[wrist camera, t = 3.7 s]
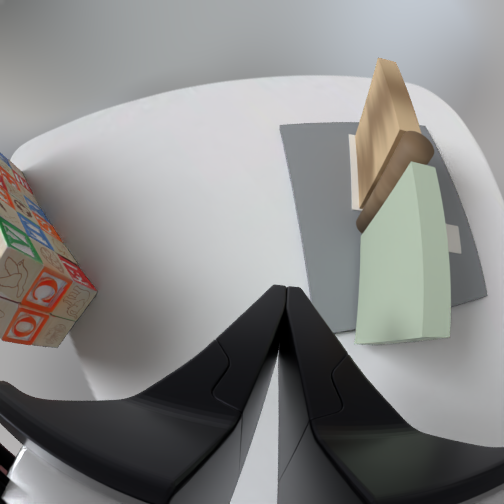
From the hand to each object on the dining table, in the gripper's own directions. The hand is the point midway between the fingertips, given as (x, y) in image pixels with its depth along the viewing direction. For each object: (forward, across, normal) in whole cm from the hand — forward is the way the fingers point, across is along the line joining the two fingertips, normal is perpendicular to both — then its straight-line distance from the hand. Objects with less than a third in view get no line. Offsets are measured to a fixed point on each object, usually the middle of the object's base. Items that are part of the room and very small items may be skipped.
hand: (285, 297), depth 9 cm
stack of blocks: (+8, +23, +4) cm, 25 cm away
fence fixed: (+13, -5, -2) cm, 14 cm away
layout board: (+12, -7, 0) cm, 14 cm away
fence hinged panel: (+7, -5, +4) cm, 9 cm away
